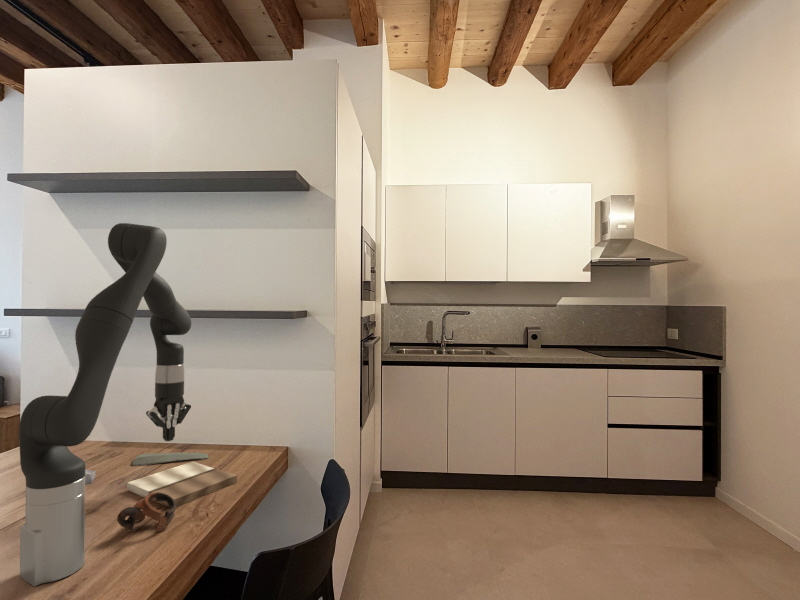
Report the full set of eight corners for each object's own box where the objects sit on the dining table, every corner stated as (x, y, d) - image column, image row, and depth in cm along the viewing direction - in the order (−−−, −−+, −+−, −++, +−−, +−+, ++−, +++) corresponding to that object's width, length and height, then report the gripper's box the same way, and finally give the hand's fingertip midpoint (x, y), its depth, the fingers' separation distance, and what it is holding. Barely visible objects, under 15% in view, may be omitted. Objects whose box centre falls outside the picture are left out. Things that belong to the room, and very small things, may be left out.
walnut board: (172, 508, 116) (172, 499, 116) (149, 499, 121) (149, 491, 121) (237, 482, 133) (237, 474, 133) (214, 475, 139) (214, 468, 139)
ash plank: (148, 499, 122) (148, 491, 122) (127, 489, 127) (127, 482, 127) (213, 475, 139) (213, 468, 139) (192, 467, 144) (192, 461, 144)
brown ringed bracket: (152, 515, 114) (169, 486, 113) (169, 543, 108) (187, 513, 108) (102, 522, 103) (121, 490, 103) (118, 553, 98) (137, 520, 98)
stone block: (75, 480, 139) (38, 485, 130) (79, 463, 140) (42, 467, 131) (99, 489, 134) (62, 494, 125) (103, 471, 134) (66, 476, 126)
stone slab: (137, 462, 154) (131, 468, 145) (138, 453, 155) (131, 459, 145) (210, 456, 162) (208, 461, 152) (210, 448, 162) (208, 453, 153)
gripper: (155, 384, 126) (154, 448, 126) (198, 378, 138) (197, 437, 137) (139, 381, 130) (138, 444, 130) (182, 376, 141) (181, 433, 141)
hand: (168, 440), depth 134 cm, fingers closed
